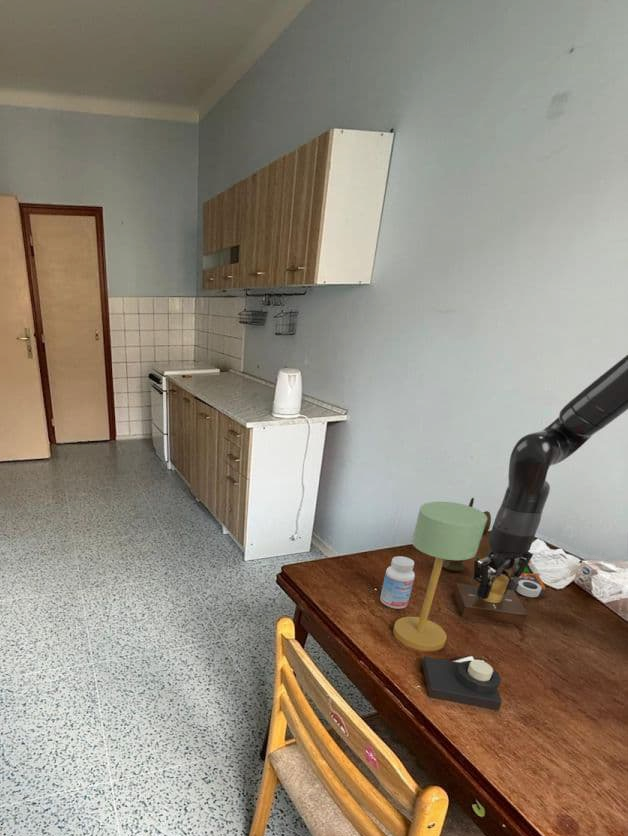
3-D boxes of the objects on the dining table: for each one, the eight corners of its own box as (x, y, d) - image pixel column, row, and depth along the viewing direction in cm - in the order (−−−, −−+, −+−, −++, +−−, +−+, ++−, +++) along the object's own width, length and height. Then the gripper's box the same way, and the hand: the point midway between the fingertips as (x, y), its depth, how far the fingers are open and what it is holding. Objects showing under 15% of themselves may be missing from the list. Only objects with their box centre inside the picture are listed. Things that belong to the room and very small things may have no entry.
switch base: (487, 676, 89) (493, 660, 87) (500, 711, 81) (507, 694, 80) (422, 665, 92) (426, 649, 90) (428, 697, 85) (434, 681, 83)
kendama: (475, 576, 120) (498, 504, 111) (433, 571, 123) (453, 500, 114) (470, 565, 125) (492, 495, 116) (430, 560, 128) (449, 491, 119)
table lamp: (442, 625, 103) (479, 504, 90) (452, 657, 94) (494, 528, 80) (388, 617, 106) (416, 499, 93) (392, 647, 97) (424, 521, 83)
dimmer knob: (489, 590, 109) (496, 569, 106) (506, 600, 105) (514, 578, 103) (474, 594, 108) (481, 572, 105) (491, 604, 104) (499, 582, 101)
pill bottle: (393, 612, 108) (404, 570, 102) (374, 599, 112) (382, 557, 107) (413, 605, 110) (424, 564, 104) (393, 593, 115) (402, 552, 109)
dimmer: (509, 600, 111) (514, 589, 109) (523, 625, 102) (527, 614, 101) (453, 593, 114) (456, 582, 112) (461, 616, 106) (465, 605, 104)
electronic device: (518, 587, 111) (502, 555, 123) (513, 597, 113) (498, 565, 125) (551, 592, 109) (532, 559, 121) (546, 602, 111) (528, 568, 123)
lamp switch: (487, 669, 85) (490, 662, 85) (492, 683, 82) (495, 675, 82) (465, 665, 86) (467, 658, 86) (469, 679, 83) (472, 671, 83)
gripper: (504, 539, 93) (479, 610, 101) (558, 528, 97) (530, 598, 105) (472, 524, 100) (452, 592, 108) (524, 515, 103) (500, 581, 111)
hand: (491, 594), depth 106 cm, fingers closed on dimmer knob, 4 cm apart
